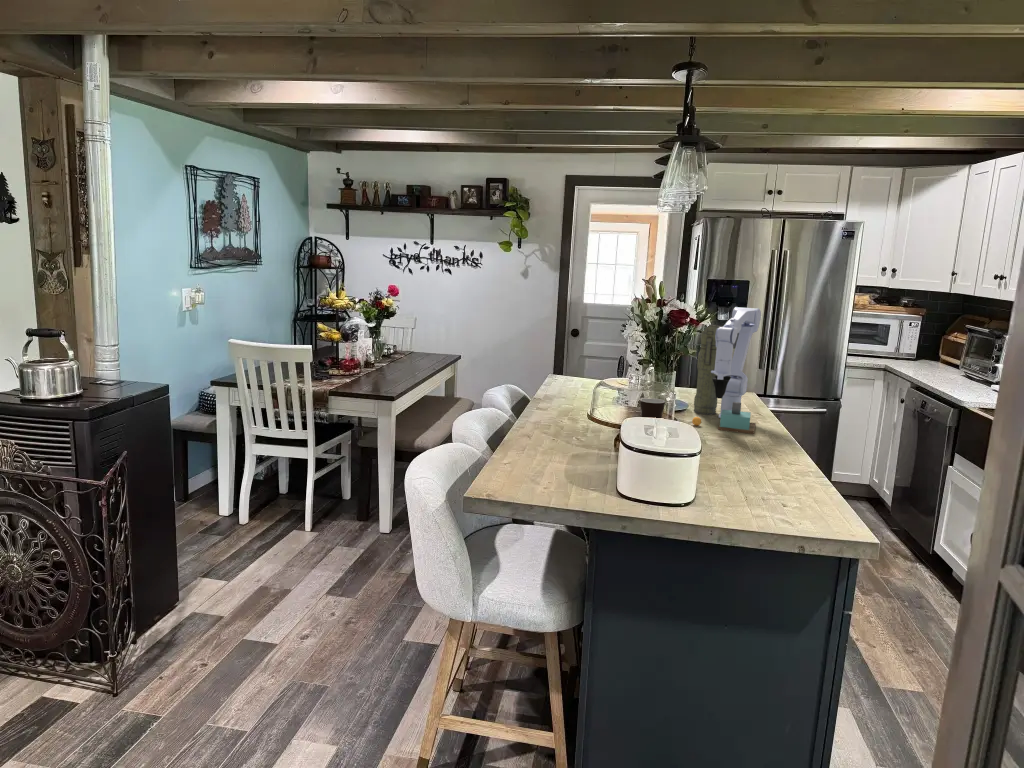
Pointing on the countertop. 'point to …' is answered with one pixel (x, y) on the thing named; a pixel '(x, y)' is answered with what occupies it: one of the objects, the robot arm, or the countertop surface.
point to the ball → (696, 421)
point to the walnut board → (750, 431)
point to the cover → (735, 417)
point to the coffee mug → (652, 407)
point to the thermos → (706, 373)
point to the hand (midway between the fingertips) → (720, 396)
